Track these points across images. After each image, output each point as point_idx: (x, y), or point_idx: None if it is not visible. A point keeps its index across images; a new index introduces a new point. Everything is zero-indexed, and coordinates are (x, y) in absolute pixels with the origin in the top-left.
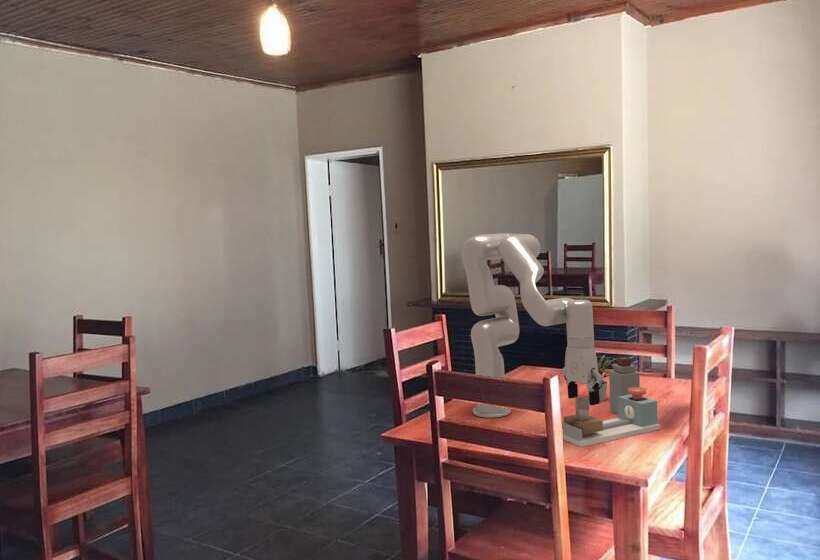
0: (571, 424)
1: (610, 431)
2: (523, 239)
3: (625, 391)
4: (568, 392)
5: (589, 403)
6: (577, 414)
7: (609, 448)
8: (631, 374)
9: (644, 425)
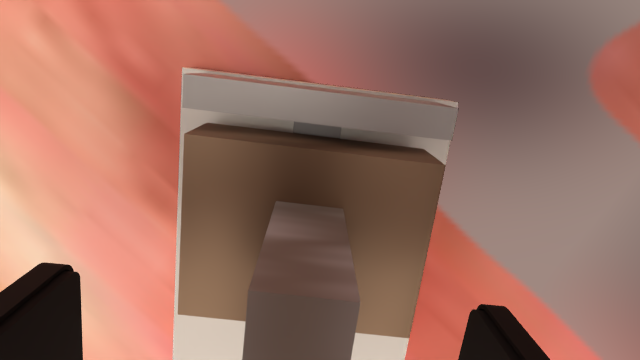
0: (335, 144)
1: (230, 334)
2: None
3: None
4: (528, 350)
5: (58, 269)
6: (321, 220)
7: (89, 178)
8: None
9: None
